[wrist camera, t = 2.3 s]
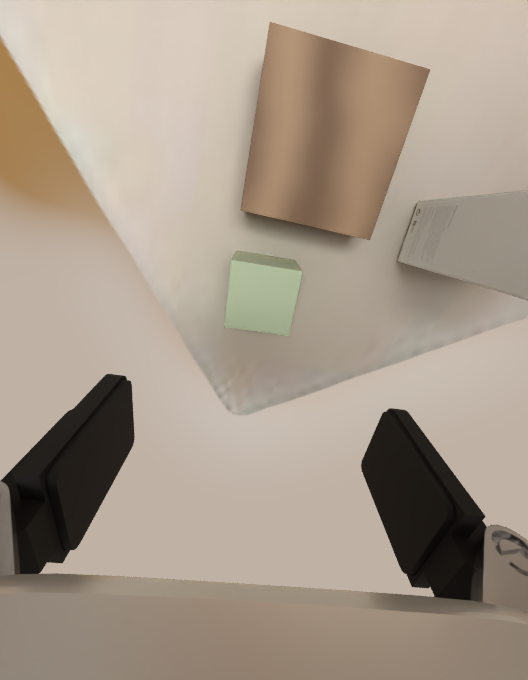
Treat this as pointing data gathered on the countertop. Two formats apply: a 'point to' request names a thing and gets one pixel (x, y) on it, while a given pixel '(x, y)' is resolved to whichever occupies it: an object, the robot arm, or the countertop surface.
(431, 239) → the skincare box
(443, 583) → the robot arm
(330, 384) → the countertop surface
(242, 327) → the sage cube
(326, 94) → the walnut block
